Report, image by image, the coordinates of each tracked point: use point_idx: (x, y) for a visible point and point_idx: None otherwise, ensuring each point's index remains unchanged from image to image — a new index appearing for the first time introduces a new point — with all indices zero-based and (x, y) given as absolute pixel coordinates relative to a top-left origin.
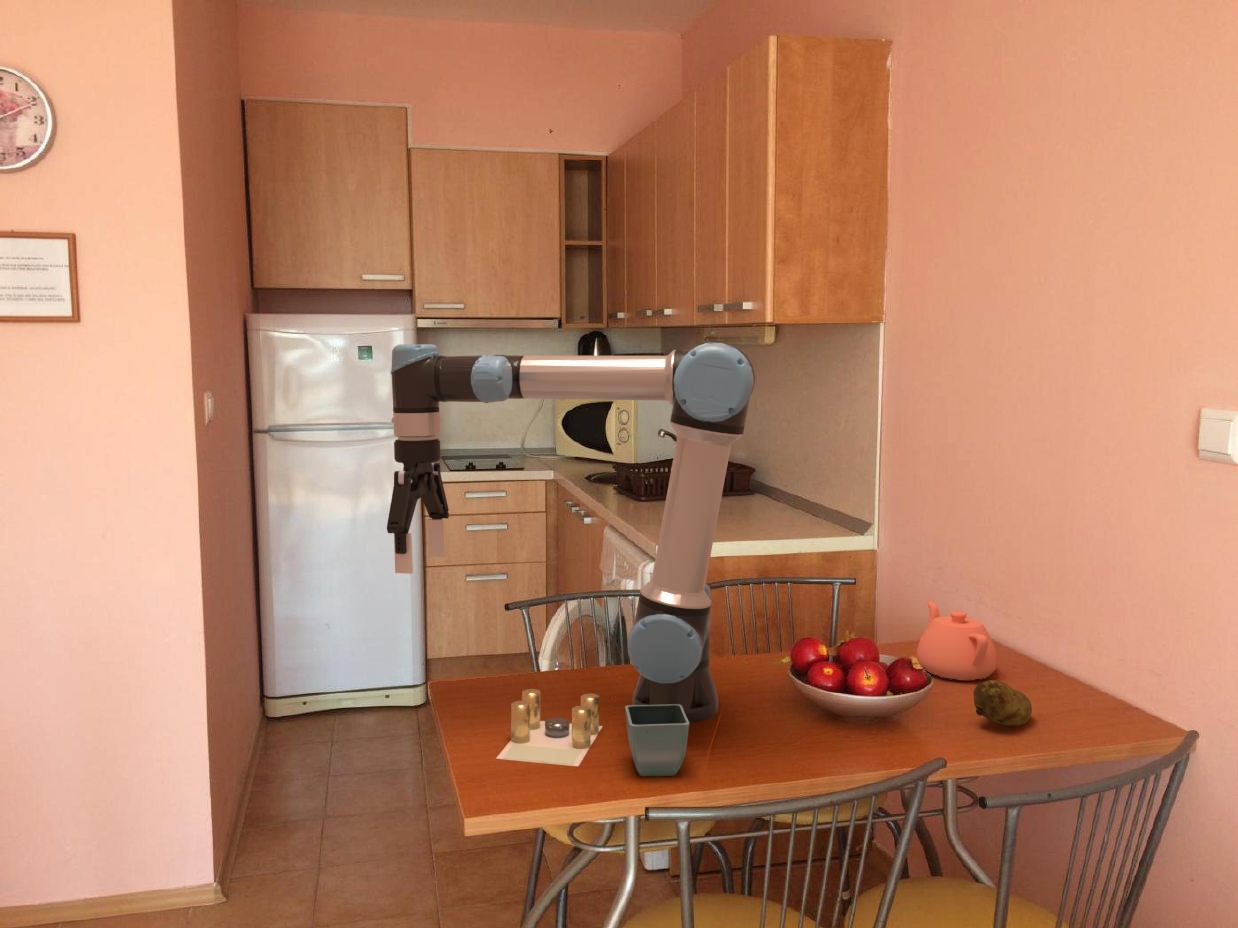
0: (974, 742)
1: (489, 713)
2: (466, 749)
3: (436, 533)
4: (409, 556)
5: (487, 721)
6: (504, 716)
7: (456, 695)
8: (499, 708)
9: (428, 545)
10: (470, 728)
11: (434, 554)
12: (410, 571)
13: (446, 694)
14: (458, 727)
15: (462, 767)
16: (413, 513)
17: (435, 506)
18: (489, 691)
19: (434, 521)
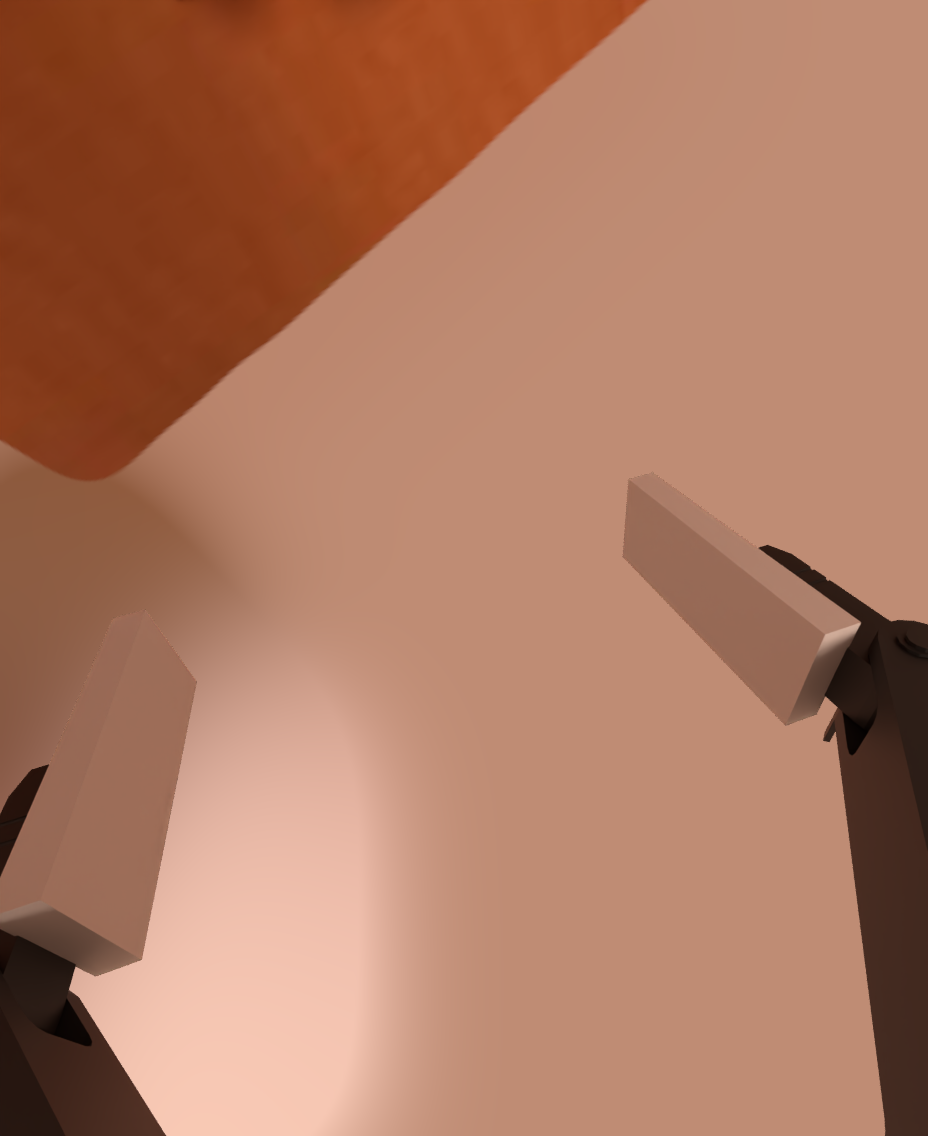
0: None
1: (193, 202)
2: (459, 120)
3: (126, 783)
4: (718, 526)
5: (253, 171)
6: (182, 132)
7: (139, 388)
8: (134, 191)
9: (182, 737)
10: (327, 196)
11: (174, 661)
12: (660, 479)
13: (153, 417)
14: (338, 238)
15: (564, 61)
16: (924, 825)
17: (92, 1130)
18: (30, 314)
19: (100, 911)
